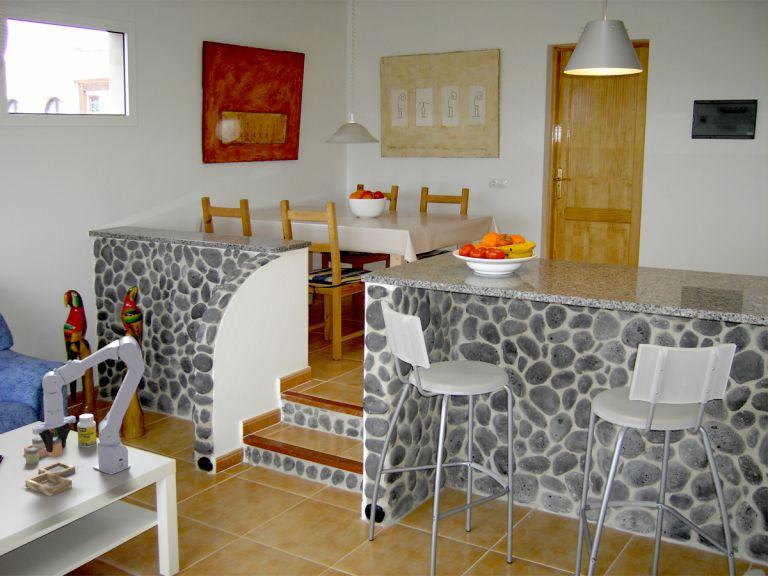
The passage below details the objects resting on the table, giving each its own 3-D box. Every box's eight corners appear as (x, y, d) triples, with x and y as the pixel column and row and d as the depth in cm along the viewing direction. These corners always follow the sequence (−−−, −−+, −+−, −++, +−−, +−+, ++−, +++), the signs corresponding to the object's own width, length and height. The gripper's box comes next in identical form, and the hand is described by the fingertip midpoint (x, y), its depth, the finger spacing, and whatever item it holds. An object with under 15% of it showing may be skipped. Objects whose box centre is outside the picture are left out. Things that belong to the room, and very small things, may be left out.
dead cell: (48, 452, 282) (47, 438, 281) (37, 456, 279) (36, 442, 278) (40, 450, 284) (40, 436, 283) (30, 453, 281) (29, 439, 280)
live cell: (64, 453, 266) (63, 439, 266) (53, 457, 263) (52, 442, 262) (57, 450, 269) (56, 436, 268) (46, 454, 266) (45, 439, 265)
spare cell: (41, 463, 275) (40, 449, 274) (30, 467, 271) (30, 452, 270) (34, 460, 277) (33, 446, 276) (23, 464, 273) (22, 450, 272)
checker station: (93, 478, 263) (93, 472, 263) (49, 496, 250) (49, 489, 250) (60, 466, 272) (59, 459, 272) (15, 482, 259) (15, 476, 259)
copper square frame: (54, 453, 283) (53, 445, 282) (36, 460, 277) (36, 451, 276) (41, 449, 286) (41, 441, 286) (24, 455, 281) (23, 447, 280)
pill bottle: (77, 449, 287) (76, 419, 285) (78, 443, 293) (77, 413, 291) (96, 448, 289) (94, 418, 287) (97, 441, 295) (95, 412, 293)
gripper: (65, 400, 271) (67, 440, 274) (25, 412, 259) (28, 453, 262) (79, 405, 267) (80, 444, 270) (39, 417, 255) (41, 458, 258)
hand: (55, 449), depth 266 cm, fingers closed on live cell, 4 cm apart
